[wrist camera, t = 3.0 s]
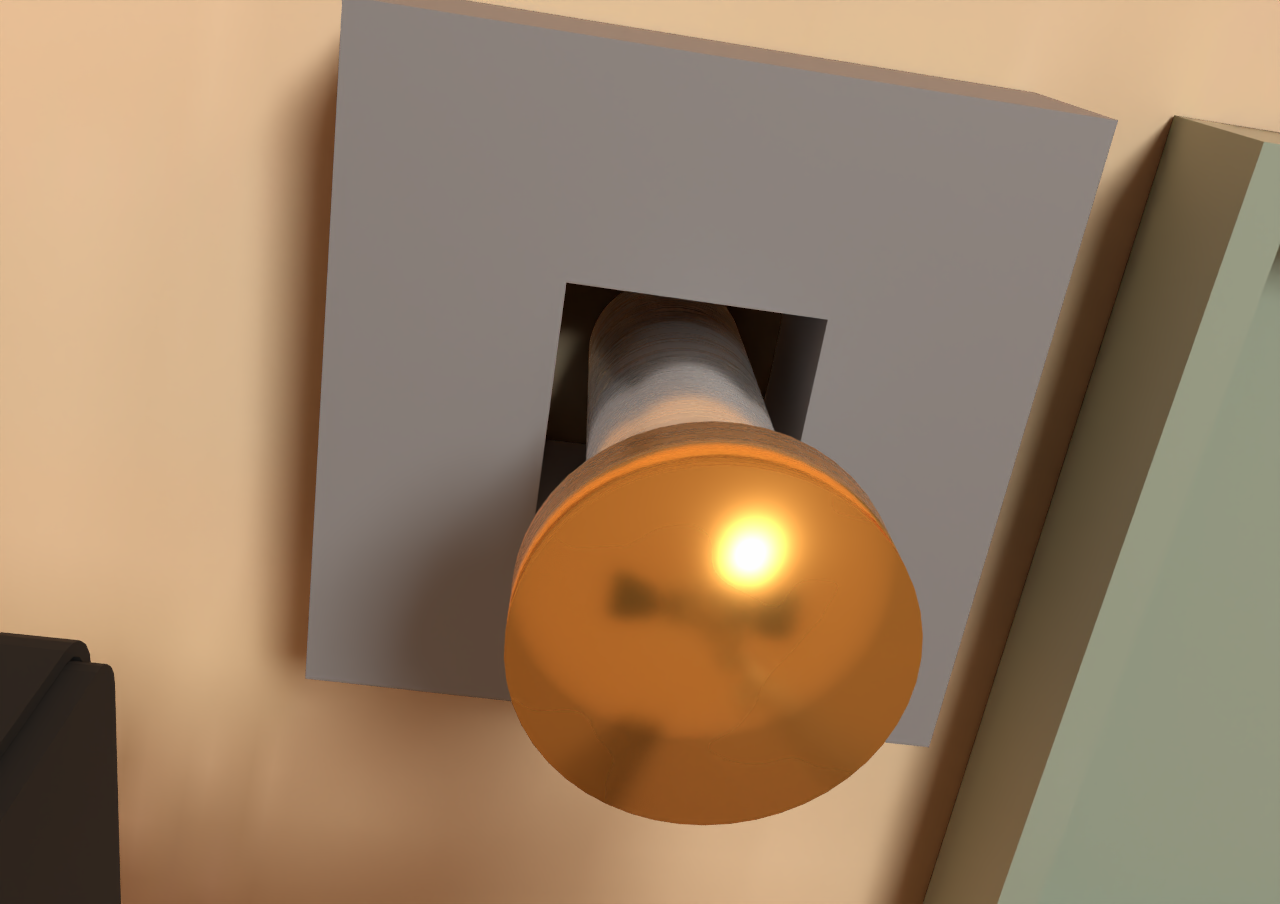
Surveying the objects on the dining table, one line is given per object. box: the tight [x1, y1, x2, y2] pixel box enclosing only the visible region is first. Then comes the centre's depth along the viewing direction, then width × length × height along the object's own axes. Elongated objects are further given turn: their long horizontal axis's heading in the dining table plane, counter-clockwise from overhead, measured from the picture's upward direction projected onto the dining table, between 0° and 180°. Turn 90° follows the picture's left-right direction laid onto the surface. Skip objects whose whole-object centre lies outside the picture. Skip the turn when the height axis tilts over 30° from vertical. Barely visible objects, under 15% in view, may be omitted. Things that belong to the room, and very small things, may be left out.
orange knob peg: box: [504, 291, 923, 825], centre depth 17 cm, size 4×4×10 cm
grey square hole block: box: [306, 0, 1118, 747], centre depth 20 cm, size 11×11×4 cm
